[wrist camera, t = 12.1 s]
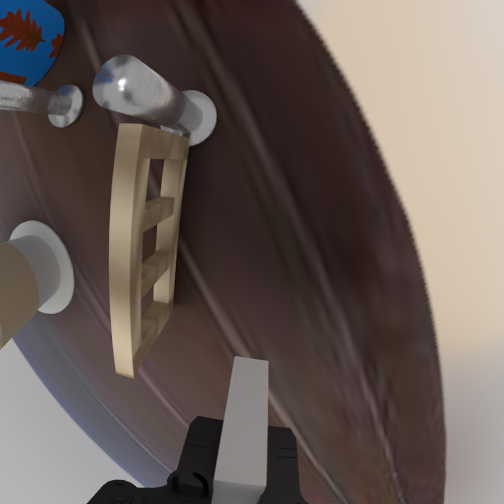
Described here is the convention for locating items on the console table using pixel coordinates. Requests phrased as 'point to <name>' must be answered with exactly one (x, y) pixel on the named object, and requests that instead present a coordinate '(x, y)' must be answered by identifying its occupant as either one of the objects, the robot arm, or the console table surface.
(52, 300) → the coaster
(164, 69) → the console table surface
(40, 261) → the coffee cup
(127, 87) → the hinge post
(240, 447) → the robot arm
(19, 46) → the thermos
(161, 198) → the gate
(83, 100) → the post
